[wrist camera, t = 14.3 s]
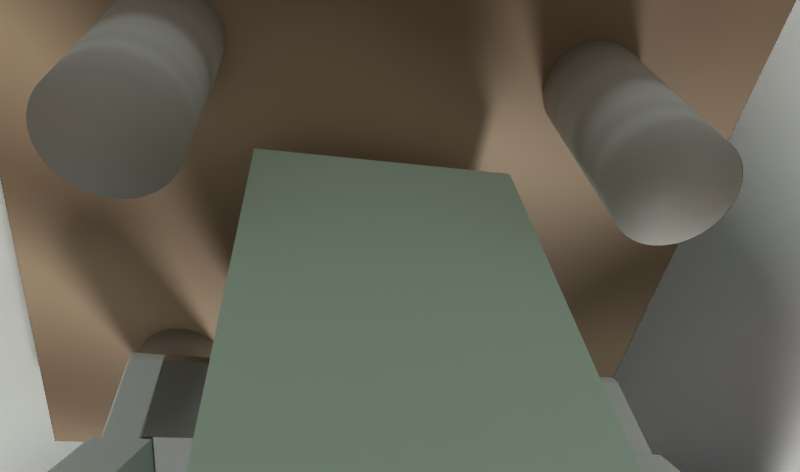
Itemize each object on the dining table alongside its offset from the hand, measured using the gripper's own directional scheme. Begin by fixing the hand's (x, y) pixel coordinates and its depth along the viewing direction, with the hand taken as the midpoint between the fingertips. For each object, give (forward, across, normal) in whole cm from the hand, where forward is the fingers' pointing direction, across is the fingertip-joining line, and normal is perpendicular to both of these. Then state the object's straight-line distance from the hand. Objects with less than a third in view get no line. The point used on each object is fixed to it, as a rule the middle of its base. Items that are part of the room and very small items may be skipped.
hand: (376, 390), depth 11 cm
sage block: (+4, 0, 0) cm, 4 cm away
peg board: (+6, 0, 0) cm, 6 cm away
